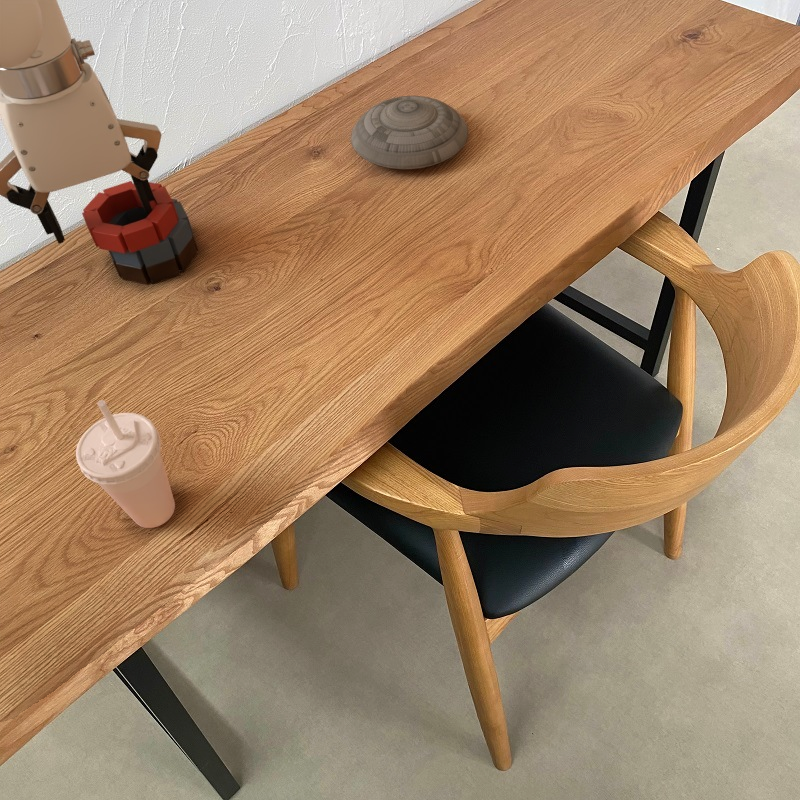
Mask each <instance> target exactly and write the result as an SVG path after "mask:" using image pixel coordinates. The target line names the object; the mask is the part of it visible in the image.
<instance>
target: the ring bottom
mask: <svg viewBox="0 0 800 800" xmlns="http://www.w3.org/2000/svg"><path fill="white" fill-rule="evenodd" d="M192 236H193V237H192V238H191V240H190V241H189V242H188V244H187V245H186V246H185V248H184V249H183V250H182V252H181V253H180V254H179V255H177V254H174V256H175V258H173V259H170V260H167V261H164V262H161V263H158V264H155V265H152V266H149V267H146V265H145V264H144V265H143V267H142V268H140V267H135V266H130V265H125V264H120V263H116V261H113V259H112V257H111V255H110V252H109V250H107V251H108V253H109V255H110V258H111V261H112V263H113V265H114V268H115V270H116V272H117V274H118V277H119V278H122V280H123V281H129V282H132V283H138V284H143V285H149V284H150V282H151V285H155V284H157V283H160V282H163V281H166V280H168V279H169V280H170V279H172V278H174V277H177V276H180V275H181V272H183V273H184V272H186V270H187V269H188V267H189V266H190V265H191V264H192V262H193V261H194V259H195V258H196V257H197V255H198V251H199V248H198V246H197V245H198V244H197V242H196V238H195V236H194V233H193V234H192Z"/></svg>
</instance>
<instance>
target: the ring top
mask: <svg viewBox="0 0 800 800" xmlns="http://www.w3.org/2000/svg"><path fill="white" fill-rule="evenodd" d="M148 182H149V181H148ZM149 184H150V187H151V190H152V193H153V195H154V198H155V200H153V201H150V202H149V203H150V205H151V208H152V209H153V210H152V212H151V213H150V214H149V215H148V217H147V218H146V219H143V220H140V221H137V222H134V223H131V224H128V225H125V226H119V225H113V224H108V223H109V222H110V221H111V220H112V219H113V217H114V216H115V215H116V214H117V213H120V212H123V211H126V210H129V209H132V208H135V207H138V206H139V207H143V205H142V203H141V201H140V199H139V196H138V193H137V191H136V188H135V185H134V183H133V180H129V181H125V182H123V183H119V184H117V185H113V186H111V187H108V188H104V189H102V192H98V193H97V194H96V195H95V196H94V197H93V198H92V199H90V202H89V203H88V204H87V205H86V206H85V207H84V208H83V209H82V211H83V212H81V214H82V218H83V219H84V222H85V224H86V228H87V229H88V232H89V234H90V236H91V238H92V240H93V243H94V245H95V247H96V248H99V250H103V251H108V250H109V251H114V252H120V253H126V252H127V251H128V250H129V251H130V253H132V252H135V251H138V250H141V249H144V248H147V247H150V246H152V245H155V244H158V243H160V242H159V240H165V238H166V237H167V236H168V234H169V233H170V232H171V231H172V229H173V228H174V227H175V225H176V224H177V223H178V220H177V219H179V218H178V215H177V212H176V209H175V206H174V203H173V201H172V199H173V198H172V197H171V195H170V193H169V191H168V190H167V188H166V186H165V185H163V186H162V184H161V183H157V182H151V181H150V182H149ZM109 251H108V252H109Z"/></svg>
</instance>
